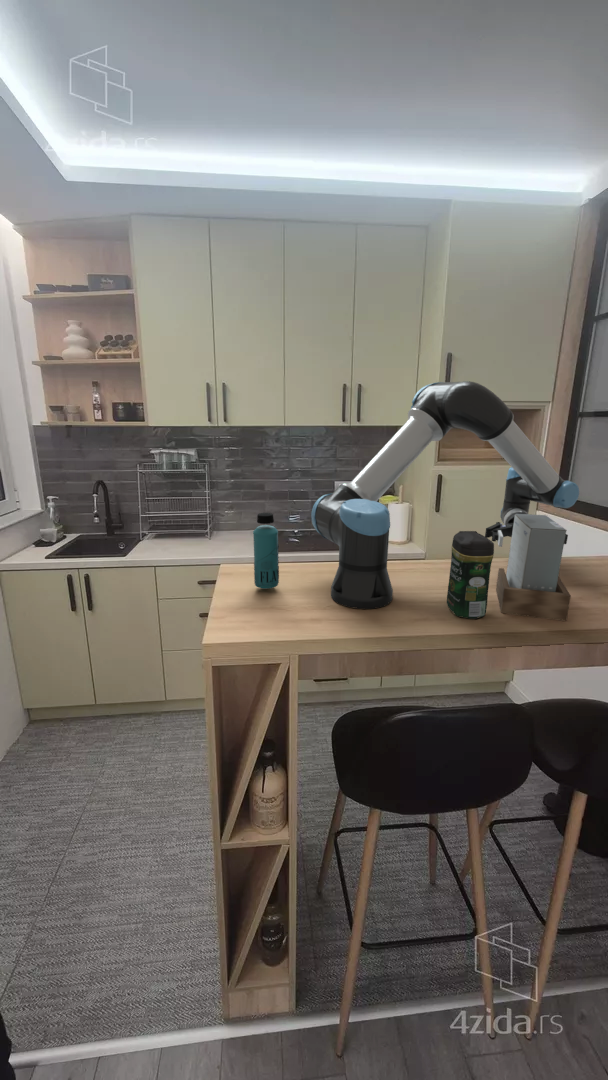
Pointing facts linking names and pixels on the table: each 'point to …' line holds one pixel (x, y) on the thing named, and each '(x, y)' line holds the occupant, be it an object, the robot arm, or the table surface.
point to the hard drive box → (535, 553)
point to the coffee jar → (469, 574)
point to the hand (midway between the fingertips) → (529, 544)
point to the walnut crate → (532, 600)
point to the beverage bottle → (266, 553)
